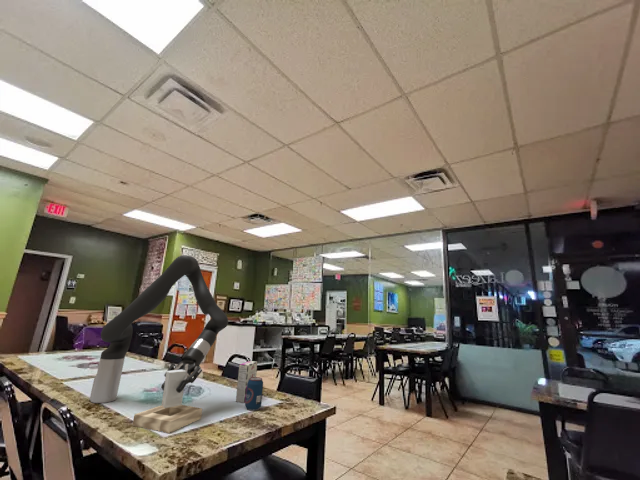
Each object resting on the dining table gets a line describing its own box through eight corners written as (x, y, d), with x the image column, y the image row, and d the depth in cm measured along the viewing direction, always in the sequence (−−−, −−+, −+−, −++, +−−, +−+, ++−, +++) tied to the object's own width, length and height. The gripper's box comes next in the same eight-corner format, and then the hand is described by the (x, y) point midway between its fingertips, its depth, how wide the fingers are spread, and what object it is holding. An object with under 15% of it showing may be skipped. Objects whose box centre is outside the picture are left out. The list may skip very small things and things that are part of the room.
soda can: (241, 407, 128) (244, 377, 131) (254, 405, 132) (257, 376, 135) (250, 412, 123) (253, 380, 126) (264, 408, 128) (266, 378, 131)
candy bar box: (245, 396, 146) (249, 360, 150) (254, 397, 145) (258, 361, 149) (234, 402, 135) (238, 363, 139) (244, 403, 134) (248, 364, 138)
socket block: (132, 425, 103) (134, 414, 104) (167, 412, 117) (169, 402, 118) (168, 433, 98) (170, 421, 99) (201, 418, 113) (202, 408, 113)
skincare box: (177, 402, 113) (182, 369, 116) (181, 405, 110) (186, 370, 113) (160, 405, 109) (166, 370, 112) (164, 408, 106) (170, 372, 109)
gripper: (179, 345, 123) (150, 381, 109) (207, 348, 119) (181, 386, 105) (186, 357, 127) (159, 394, 113) (214, 360, 122) (190, 398, 108)
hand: (170, 390), depth 109 cm, fingers closed on skincare box, 6 cm apart
